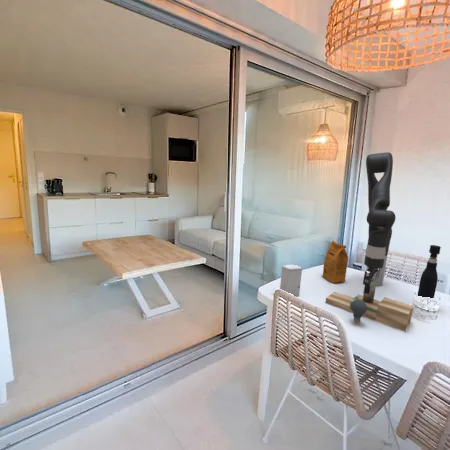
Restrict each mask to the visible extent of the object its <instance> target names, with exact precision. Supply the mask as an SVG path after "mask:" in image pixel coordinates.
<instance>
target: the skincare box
mask: <svg viewBox="0 0 450 450" xmlns="http://www.w3.org/2000/svg"><path fill="white" fill-rule="evenodd" d="M302 273H303V267H301V266H300V265H297V264H286V265H285V264H284V265H281V273H280V274H281V275H280V285H279V290H280V289H282V290H284V291H286V292H288V293H291V294H293V295H295V296H294V297H299V296H300V291H301V281H302Z"/></svg>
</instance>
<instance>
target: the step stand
mask: <svg viewBox="0 0 450 450" xmlns="http://www.w3.org/2000/svg"><path fill="white" fill-rule="evenodd" d="M357 299H359V300H362V301H363V295H361V294H357V295H355V297H352V296H349V295H345V294H342V293H340V292H337V291H334V292H332V293H331V294H329V295H328V296H327V297H325V304H328V305H330V306H333V307H336V308H339V309H342V310H344V311H347V312H350V313H353V311H352V309H351V303H352V302H353V301H354V300H357ZM365 304H366V305H367V310H366V312H365V313H364V314H363V315H362V317H363V318H366V319H369V320H373V321H375V322H378V323H381V324H384V325H385V326H388V327H392V328H393V329H394V328H395V329H397V330H400V331H402V332H403V331H404V332H406V331H407V329H408V327H409V325H410V324H411V321H412V317H413V316H412V315H413V311H414V305H411V304H409V303H405V302H403V301H400V300H399V301H398V300H395V299H392V298H389V297H383V298H382V299H381V300H378V299H375V298H374V301H373V303H367V302H365Z"/></svg>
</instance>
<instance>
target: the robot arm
mask: <svg viewBox="0 0 450 450" xmlns="http://www.w3.org/2000/svg"><path fill="white" fill-rule="evenodd" d="M393 165H394V157H393V154H392V153H391V152H387V151H386V152H378V153H371V154H368V155H367V156H366V159H365V167H366V176H367V185H368V186H367V190H368V192H367V195H368V196H367V197H368V198H367V201H368V204H367V205H368V212H367V215H366V223H367V225H368V240H367V245H366V249H365V254H364V260H363V261H364V262H363V264H364V266H366V269H365V271H364V275H363V282H362V285H363V286H364V287H363V293H366V294H369V293H370V287H371V283H372V282H373V281H374V278H375V276H377V284H376V286H378V287H380V286H383V284H384V280H385V273H386V268H387V267H386V266H387V261H388V254H389V249H390V244H391V239H392V236H393V235H392V234H393V226H394V224H395V222H396V219H397V218H396V213H395V212H394V211H393V210H389V209H388V208H389V207H390V206H391V205H390V204H391V183H392V176H393V169H394V166H393ZM382 173H383V175H382V177H380V179H379V180H378V179H377V176H376V175H375V174H382ZM367 280H368V283H367Z"/></svg>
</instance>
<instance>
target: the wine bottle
mask: <svg viewBox="0 0 450 450" xmlns="http://www.w3.org/2000/svg"><path fill="white" fill-rule="evenodd" d="M441 248H442V247H441V246H439V245H436V244H431V245H430V246H429V250H428V252H429V253H430V255H429V258H428V260H427V262H426V267H425V268H424V270H423V271H422V274H421V275H420V280H419V285H418V291H417V295H418V296H422V297H430V298H434V299H435V294H436V291H437V290H436V289H437V285H438V271H437V267H438V255H440V252H441Z"/></svg>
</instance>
